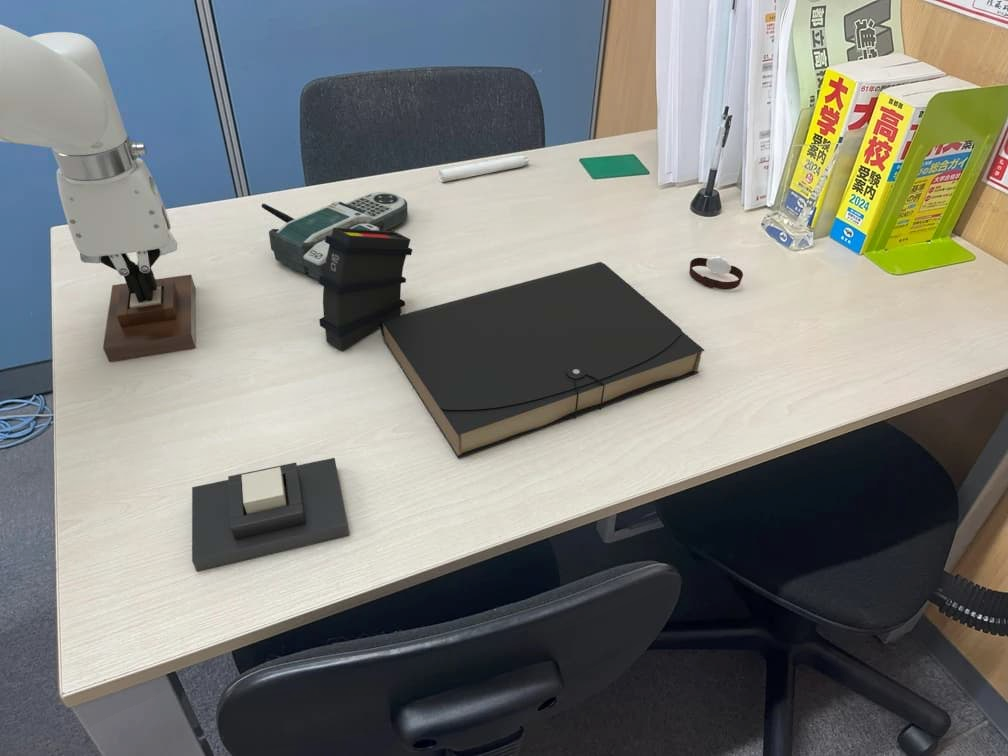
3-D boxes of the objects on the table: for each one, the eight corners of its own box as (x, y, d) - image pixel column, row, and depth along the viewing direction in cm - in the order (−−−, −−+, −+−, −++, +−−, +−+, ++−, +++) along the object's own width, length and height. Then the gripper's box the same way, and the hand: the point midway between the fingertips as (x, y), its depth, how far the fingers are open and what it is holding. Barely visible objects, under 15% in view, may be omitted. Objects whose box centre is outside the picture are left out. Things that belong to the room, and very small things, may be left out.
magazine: (301, 342, 88) (328, 226, 83) (376, 335, 99) (403, 231, 94) (321, 355, 86) (349, 237, 81) (395, 346, 97) (424, 241, 92)
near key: (247, 515, 66) (243, 503, 65) (245, 486, 69) (241, 474, 68) (286, 506, 67) (283, 494, 66) (283, 478, 70) (280, 466, 69)
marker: (527, 162, 133) (527, 150, 132) (532, 166, 132) (533, 154, 130) (438, 179, 127) (438, 166, 125) (443, 184, 125) (443, 171, 124)
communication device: (431, 223, 115) (429, 172, 109) (324, 288, 100) (316, 232, 94) (375, 201, 120) (371, 151, 114) (265, 260, 105) (254, 205, 99)
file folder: (458, 433, 74) (378, 312, 90) (459, 460, 76) (381, 338, 92) (706, 348, 86) (596, 255, 102) (699, 374, 89) (593, 279, 105)
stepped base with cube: (196, 571, 65) (186, 549, 63) (196, 497, 72) (187, 475, 69) (349, 535, 69) (345, 513, 66) (336, 468, 75) (332, 445, 73)
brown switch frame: (195, 348, 89) (187, 322, 87) (108, 362, 87) (97, 336, 84) (195, 287, 99) (187, 263, 96) (117, 298, 97) (107, 273, 94)
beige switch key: (164, 312, 90) (160, 301, 89) (133, 317, 90) (129, 306, 88) (164, 297, 93) (161, 286, 92) (135, 301, 92) (131, 290, 91)
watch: (742, 280, 105) (749, 259, 103) (735, 296, 102) (741, 275, 99) (692, 266, 108) (697, 245, 105) (683, 281, 104) (688, 260, 102)
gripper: (169, 137, 83) (207, 271, 95) (25, 150, 79) (84, 288, 91) (167, 164, 77) (208, 302, 90) (13, 180, 74) (78, 322, 86)
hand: (146, 295), depth 90 cm, fingers closed
